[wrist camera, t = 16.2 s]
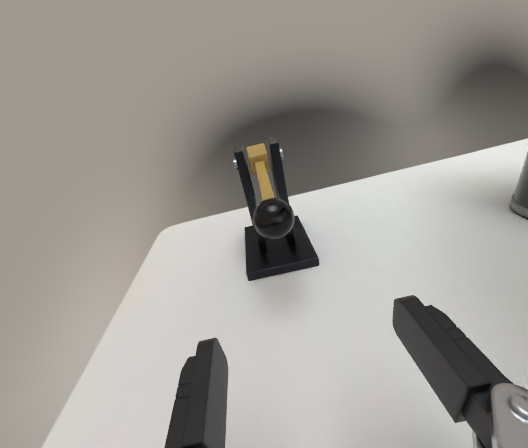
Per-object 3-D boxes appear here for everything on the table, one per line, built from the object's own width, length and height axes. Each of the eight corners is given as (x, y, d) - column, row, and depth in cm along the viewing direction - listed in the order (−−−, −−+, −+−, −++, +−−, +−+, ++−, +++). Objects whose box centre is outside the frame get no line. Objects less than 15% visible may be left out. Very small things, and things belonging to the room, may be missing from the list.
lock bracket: (319, 265, 29) (304, 143, 23) (248, 281, 30) (212, 165, 23) (298, 221, 40) (284, 129, 33) (246, 233, 40) (221, 144, 33)
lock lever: (300, 242, 21) (297, 211, 18) (259, 251, 21) (251, 222, 18) (273, 163, 31) (268, 136, 28) (246, 169, 31) (239, 143, 29)
